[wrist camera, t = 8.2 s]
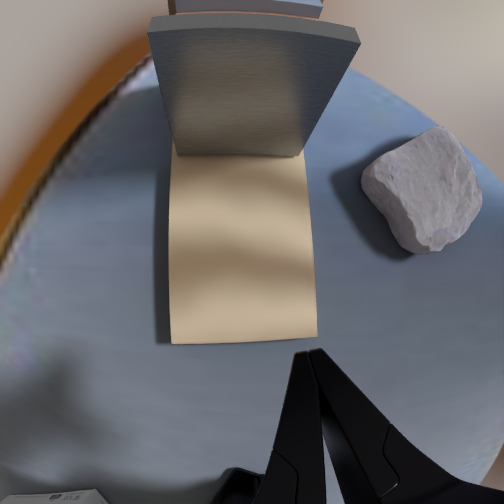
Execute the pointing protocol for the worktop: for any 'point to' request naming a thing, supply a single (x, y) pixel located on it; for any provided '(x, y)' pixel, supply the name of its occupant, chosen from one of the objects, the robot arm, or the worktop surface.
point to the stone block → (425, 191)
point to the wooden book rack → (240, 248)
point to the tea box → (58, 498)
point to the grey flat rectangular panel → (247, 79)
